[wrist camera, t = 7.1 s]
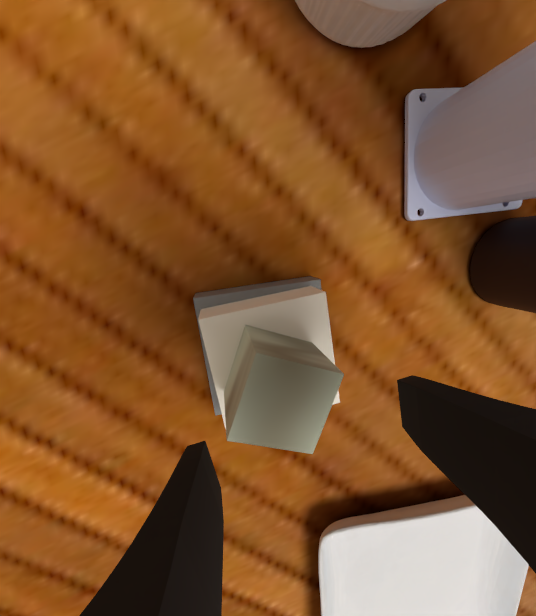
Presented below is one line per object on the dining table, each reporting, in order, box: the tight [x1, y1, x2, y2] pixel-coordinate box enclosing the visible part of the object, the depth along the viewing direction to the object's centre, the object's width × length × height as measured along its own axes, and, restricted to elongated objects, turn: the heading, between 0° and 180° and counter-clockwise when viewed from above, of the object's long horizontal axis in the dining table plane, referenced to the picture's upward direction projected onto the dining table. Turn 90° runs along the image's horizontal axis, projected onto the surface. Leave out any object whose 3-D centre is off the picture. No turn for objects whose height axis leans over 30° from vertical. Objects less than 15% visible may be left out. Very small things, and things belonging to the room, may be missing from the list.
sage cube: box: [224, 325, 344, 454], centre depth 13 cm, size 4×4×4 cm
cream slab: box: [198, 286, 340, 428], centre depth 17 cm, size 7×7×2 cm
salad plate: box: [318, 495, 529, 616], centre depth 27 cm, size 21×21×3 cm
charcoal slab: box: [193, 276, 321, 415], centre depth 19 cm, size 8×8×2 cm
